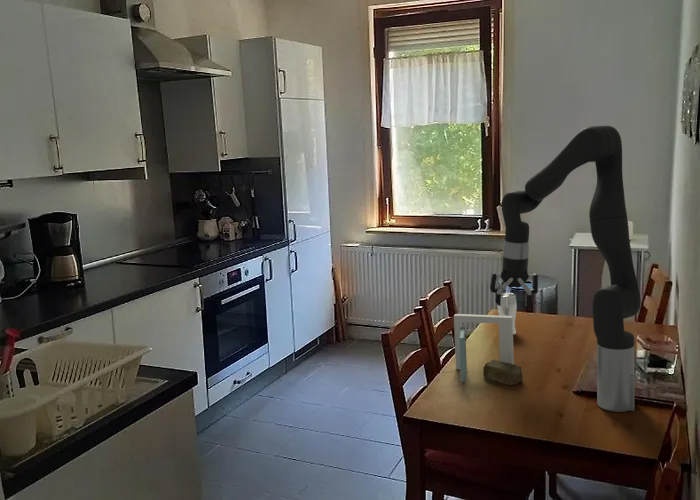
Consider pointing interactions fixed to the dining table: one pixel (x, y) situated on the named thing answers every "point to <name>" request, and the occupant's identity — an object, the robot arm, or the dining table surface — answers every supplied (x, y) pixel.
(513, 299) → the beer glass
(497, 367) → the stone block
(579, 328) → the dining table surface
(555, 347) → the dining table surface
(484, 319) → the door frame
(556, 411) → the dining table surface
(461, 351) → the door
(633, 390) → the robot arm
